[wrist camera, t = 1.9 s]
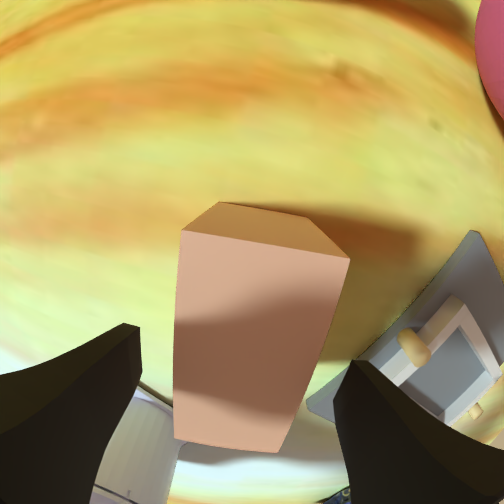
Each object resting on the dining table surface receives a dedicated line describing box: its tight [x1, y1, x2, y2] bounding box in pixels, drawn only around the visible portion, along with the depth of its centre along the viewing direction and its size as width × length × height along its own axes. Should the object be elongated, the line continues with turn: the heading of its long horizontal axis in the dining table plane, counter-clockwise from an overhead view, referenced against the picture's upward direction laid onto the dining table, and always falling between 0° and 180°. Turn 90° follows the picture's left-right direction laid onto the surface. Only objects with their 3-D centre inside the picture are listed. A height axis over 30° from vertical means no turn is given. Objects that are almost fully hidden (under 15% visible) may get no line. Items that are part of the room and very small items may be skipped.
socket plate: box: [306, 230, 504, 427], centre depth 15 cm, size 16×15×4 cm
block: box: [173, 202, 350, 453], centre depth 12 cm, size 9×4×7 cm, turn 170°
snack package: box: [323, 488, 351, 504], centre depth 21 cm, size 12×7×12 cm
